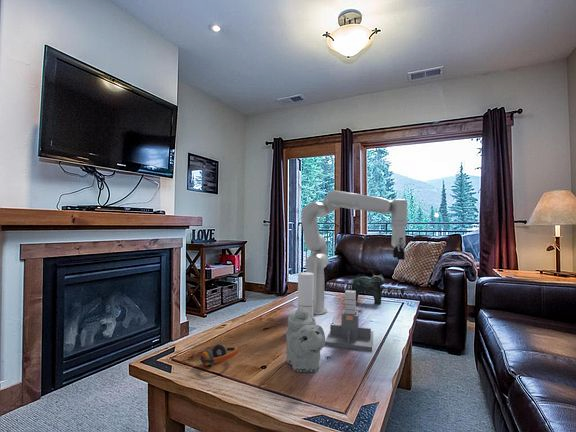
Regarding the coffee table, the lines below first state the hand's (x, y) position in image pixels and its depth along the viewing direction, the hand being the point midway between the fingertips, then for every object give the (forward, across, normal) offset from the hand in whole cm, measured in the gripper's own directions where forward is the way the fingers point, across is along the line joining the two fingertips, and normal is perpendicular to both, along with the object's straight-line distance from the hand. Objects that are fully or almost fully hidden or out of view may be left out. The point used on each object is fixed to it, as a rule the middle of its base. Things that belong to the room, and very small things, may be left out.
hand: (398, 258), depth 153 cm
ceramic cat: (+32, -36, -11) cm, 49 cm away
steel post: (+29, +29, -25) cm, 48 cm away
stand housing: (+31, +29, -25) cm, 49 cm away
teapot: (+32, +56, -42) cm, 77 cm away
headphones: (+32, +56, -74) cm, 98 cm away
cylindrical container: (+32, +17, -45) cm, 58 cm away
